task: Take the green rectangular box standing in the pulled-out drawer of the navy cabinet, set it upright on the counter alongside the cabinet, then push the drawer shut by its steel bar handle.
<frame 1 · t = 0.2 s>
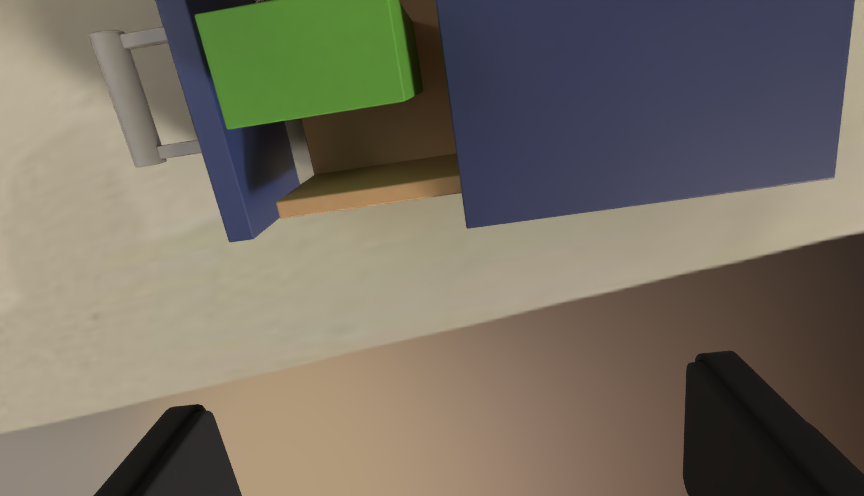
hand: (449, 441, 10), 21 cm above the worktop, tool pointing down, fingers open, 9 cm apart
cabinet: (577, 32, 26), on the worktop
drawer: (309, 72, 23), point 5 cm above the worktop, slide at 9.5 cm, touching green rectangular box
green rectangular box: (362, 66, 26), point 2 cm above the worktop, touching drawer
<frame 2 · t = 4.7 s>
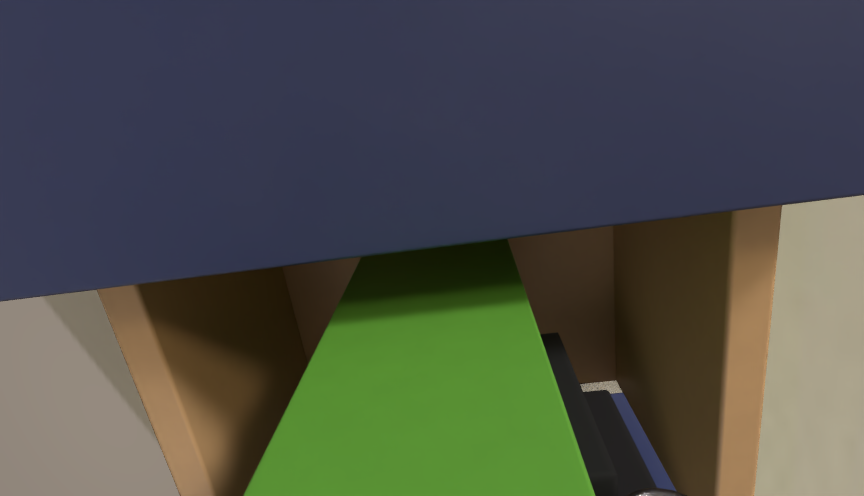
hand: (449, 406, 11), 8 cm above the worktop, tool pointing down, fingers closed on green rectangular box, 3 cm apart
drawer: (459, 404, 14), point 5 cm above the worktop, slide at 9.5 cm, touching green rectangular box
green rectangular box: (450, 297, 16), point 2 cm above the worktop, touching drawer, gripper
when the fingers open (6 cm above the worktop, at t = 12.7 s): green rectangular box stays where it is, on the worktop.
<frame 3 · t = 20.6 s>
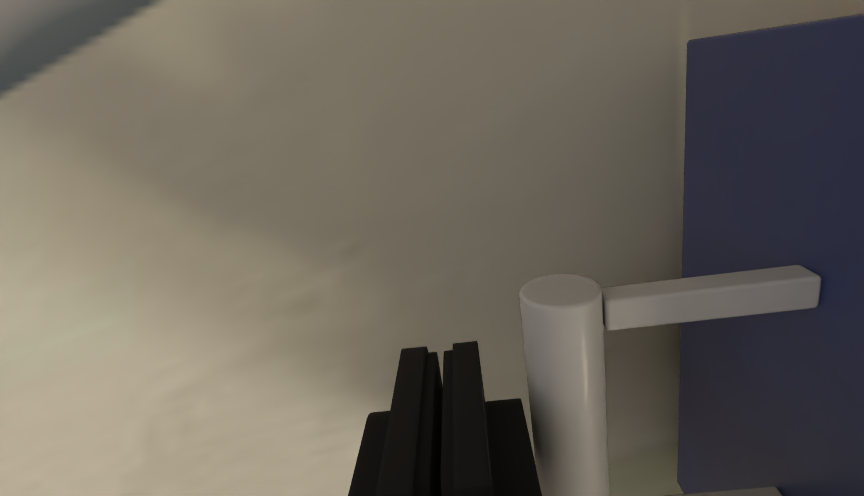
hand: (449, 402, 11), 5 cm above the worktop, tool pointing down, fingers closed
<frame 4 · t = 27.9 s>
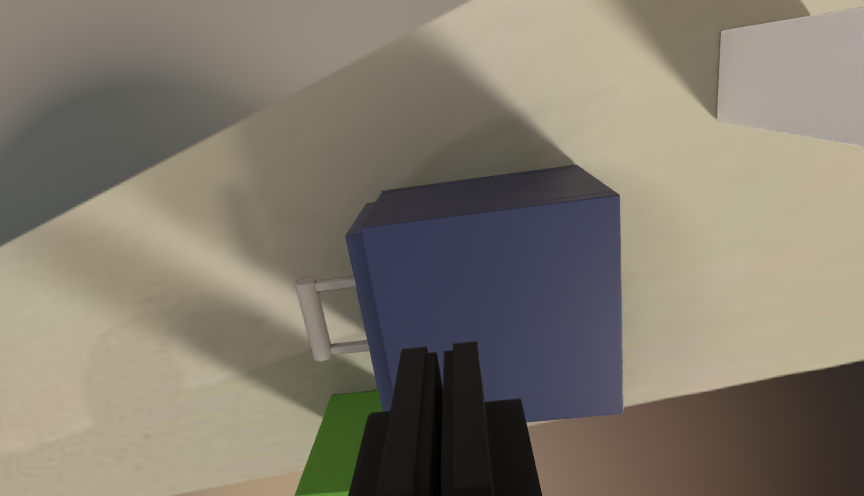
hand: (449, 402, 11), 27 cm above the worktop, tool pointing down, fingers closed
cabinet: (488, 267, 39), on the worktop
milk: (761, 70, 33), on the worktop
drawer: (434, 300, 34), point 5 cm above the worktop, slide at 0.0 cm, touching cabinet
green rectangular box: (368, 407, 44), on the worktop
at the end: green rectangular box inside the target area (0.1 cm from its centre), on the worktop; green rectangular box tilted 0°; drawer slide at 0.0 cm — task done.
